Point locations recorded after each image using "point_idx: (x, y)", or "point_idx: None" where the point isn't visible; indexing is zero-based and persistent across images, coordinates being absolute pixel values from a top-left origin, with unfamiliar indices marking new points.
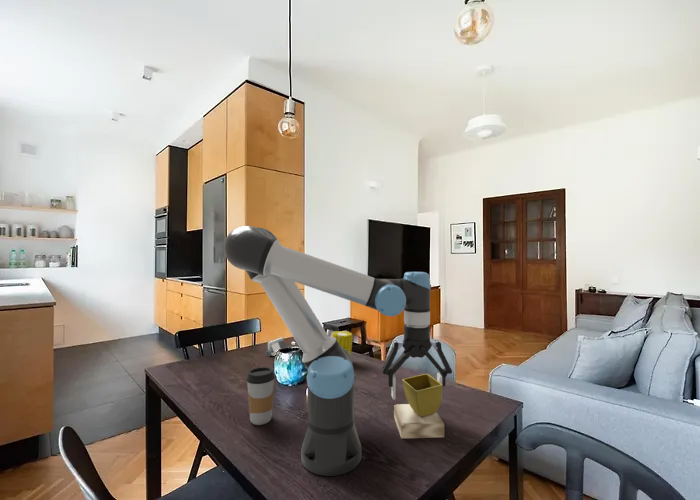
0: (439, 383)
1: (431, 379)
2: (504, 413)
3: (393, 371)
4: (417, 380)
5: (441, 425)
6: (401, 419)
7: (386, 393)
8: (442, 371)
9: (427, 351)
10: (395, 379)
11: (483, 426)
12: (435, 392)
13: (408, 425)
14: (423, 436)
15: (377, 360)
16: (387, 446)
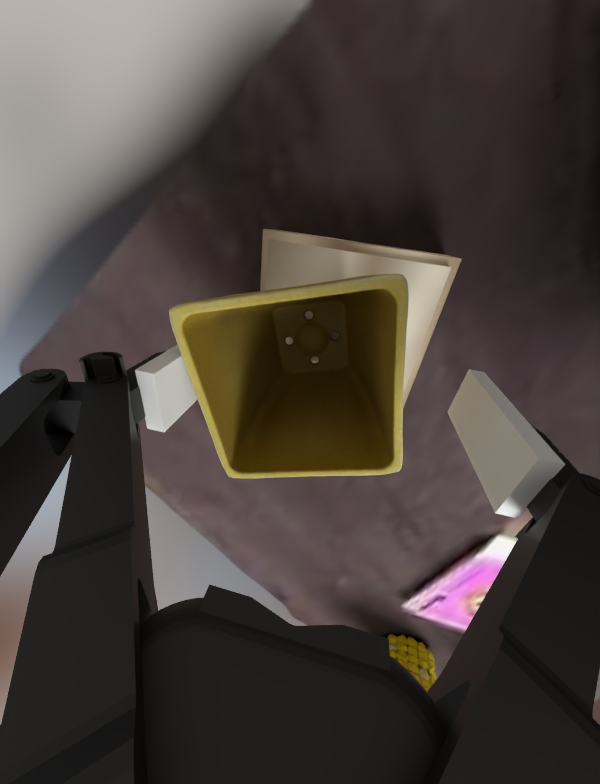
0: (186, 339)
1: (221, 422)
2: (56, 332)
3: (590, 510)
4: (298, 453)
5: (276, 231)
6: (437, 300)
7: (352, 510)
8: (101, 391)
9: (6, 729)
10: (529, 442)
11: (128, 273)
12: (243, 294)
13: (425, 253)
14: (356, 241)
15: (307, 623)
16: (539, 203)
